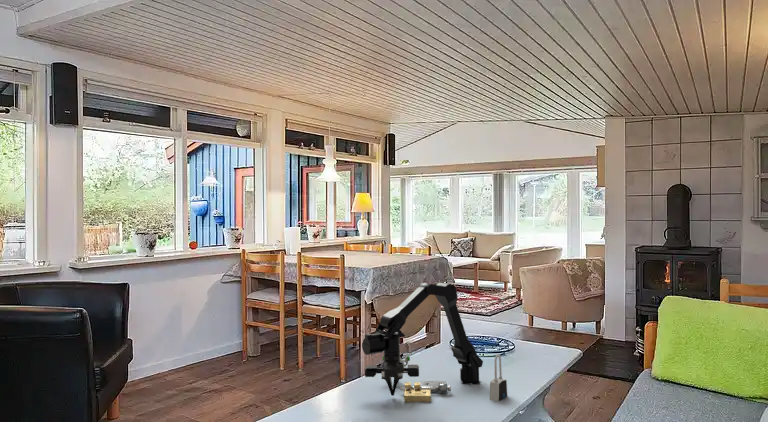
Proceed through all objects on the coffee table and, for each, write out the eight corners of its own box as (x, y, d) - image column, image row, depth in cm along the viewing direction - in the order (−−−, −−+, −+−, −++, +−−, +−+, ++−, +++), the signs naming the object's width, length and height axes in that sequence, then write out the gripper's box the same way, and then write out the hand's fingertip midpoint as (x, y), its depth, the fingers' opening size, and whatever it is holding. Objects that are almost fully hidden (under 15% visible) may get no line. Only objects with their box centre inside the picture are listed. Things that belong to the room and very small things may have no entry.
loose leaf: (430, 392, 207) (429, 382, 207) (430, 401, 197) (430, 391, 197) (405, 392, 208) (404, 382, 208) (404, 401, 198) (404, 391, 198)
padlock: (499, 401, 196) (498, 357, 196) (488, 399, 199) (487, 355, 199) (508, 396, 201) (507, 353, 201) (497, 394, 204) (496, 351, 204)
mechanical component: (409, 383, 219) (408, 357, 219) (382, 382, 221) (382, 356, 221) (410, 381, 222) (410, 355, 222) (384, 380, 224) (383, 354, 224)
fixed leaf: (449, 386, 214) (449, 376, 214) (451, 395, 204) (450, 385, 204) (401, 386, 215) (401, 377, 215) (400, 395, 205) (400, 385, 205)
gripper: (362, 356, 195) (363, 403, 195) (418, 356, 194) (419, 402, 194) (365, 348, 206) (366, 392, 206) (418, 348, 205) (419, 392, 205)
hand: (392, 395), depth 202 cm, fingers closed
